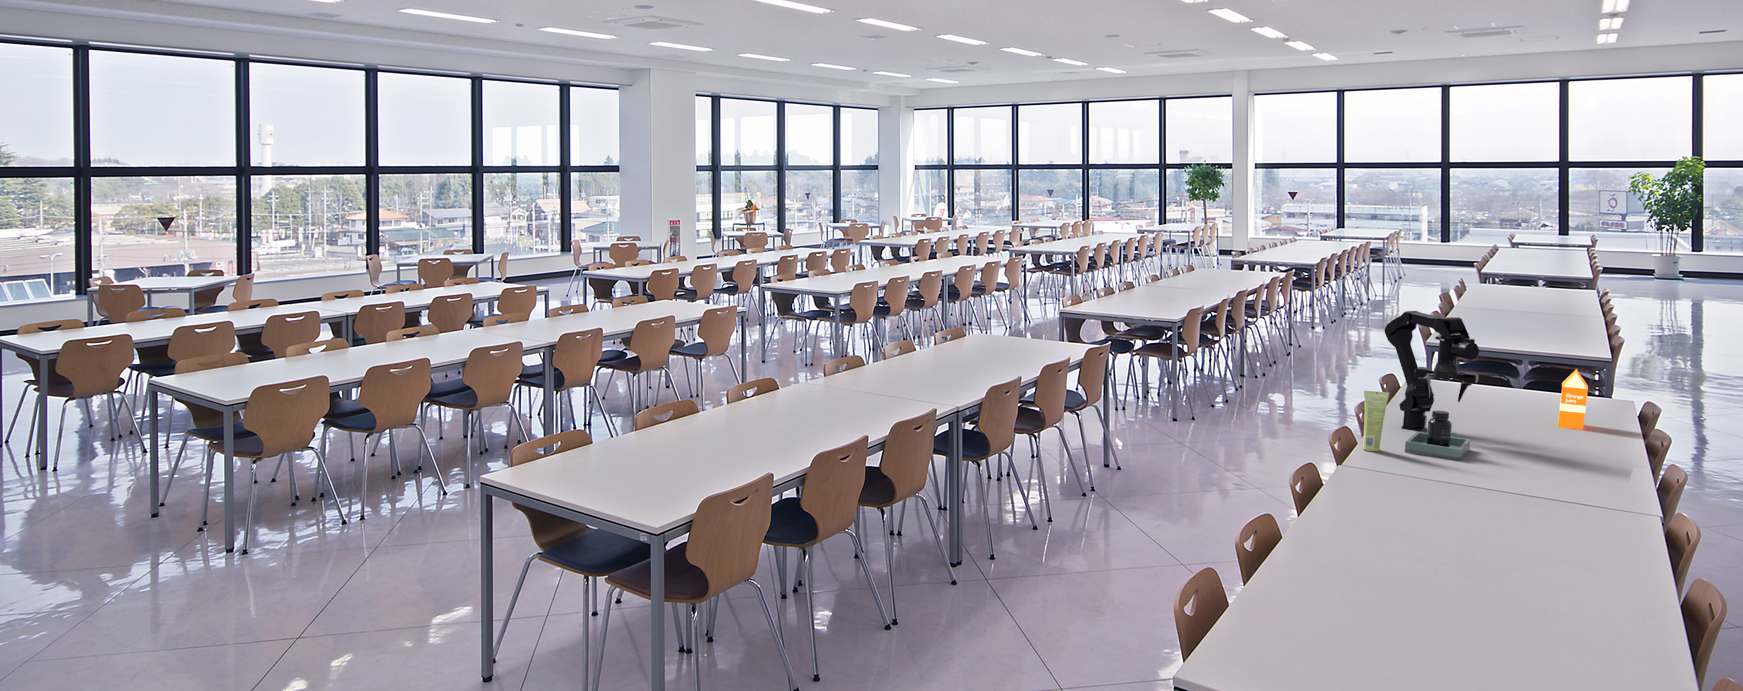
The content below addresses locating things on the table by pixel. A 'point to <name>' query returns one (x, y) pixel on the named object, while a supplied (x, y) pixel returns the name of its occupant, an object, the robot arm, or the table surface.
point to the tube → (1374, 418)
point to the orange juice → (1573, 402)
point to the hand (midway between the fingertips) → (1443, 400)
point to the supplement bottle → (1439, 429)
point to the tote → (1437, 447)
